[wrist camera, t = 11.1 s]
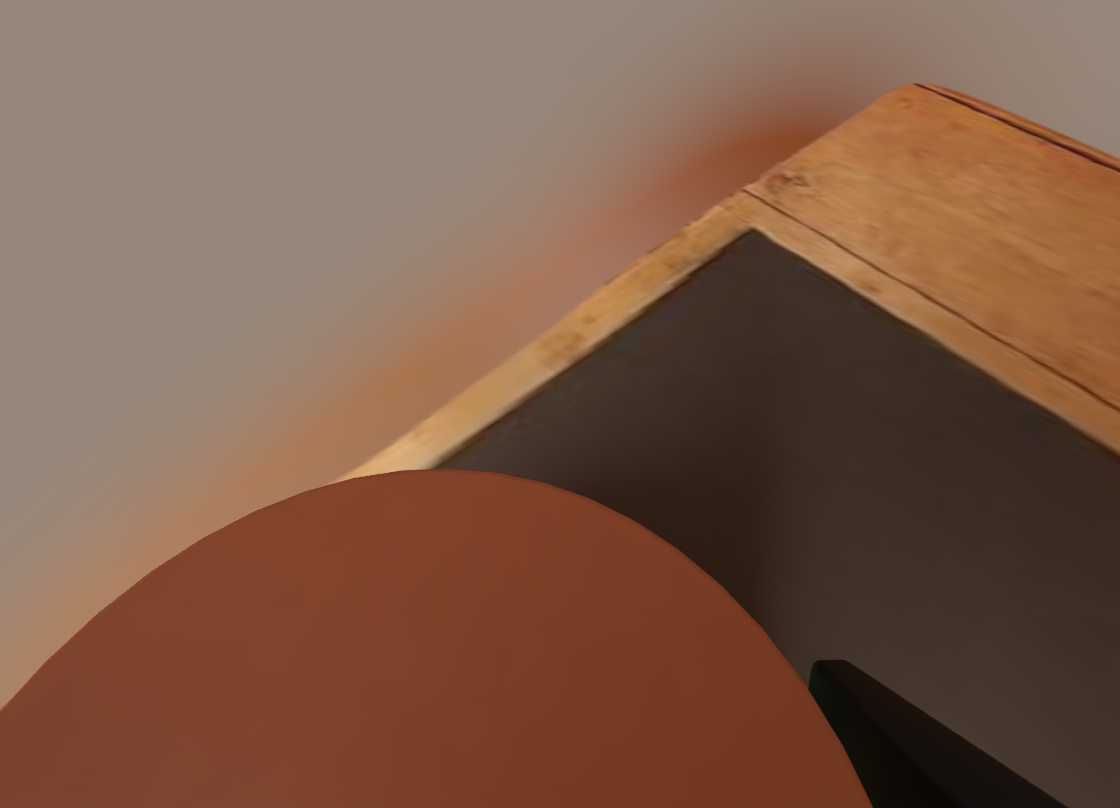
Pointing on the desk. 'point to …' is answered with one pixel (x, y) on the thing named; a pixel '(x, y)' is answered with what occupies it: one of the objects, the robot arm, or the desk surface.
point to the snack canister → (423, 668)
